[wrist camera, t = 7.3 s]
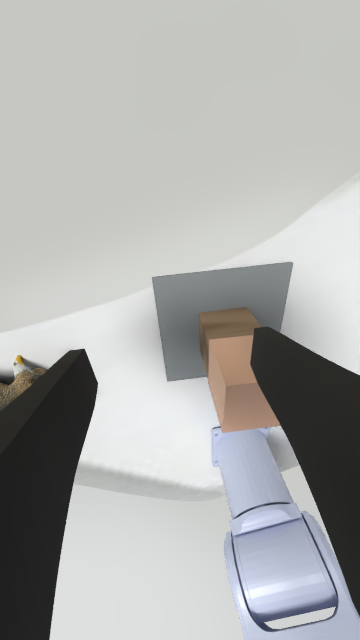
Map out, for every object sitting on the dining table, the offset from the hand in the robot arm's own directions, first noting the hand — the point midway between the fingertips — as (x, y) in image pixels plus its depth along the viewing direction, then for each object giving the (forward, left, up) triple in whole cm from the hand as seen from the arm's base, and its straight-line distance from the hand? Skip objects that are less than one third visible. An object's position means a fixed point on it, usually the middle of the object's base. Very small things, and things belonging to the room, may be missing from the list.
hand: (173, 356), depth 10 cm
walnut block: (-6, -5, -10) cm, 13 cm away
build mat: (-6, -5, -10) cm, 13 cm away
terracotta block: (-6, -5, -6) cm, 10 cm away
